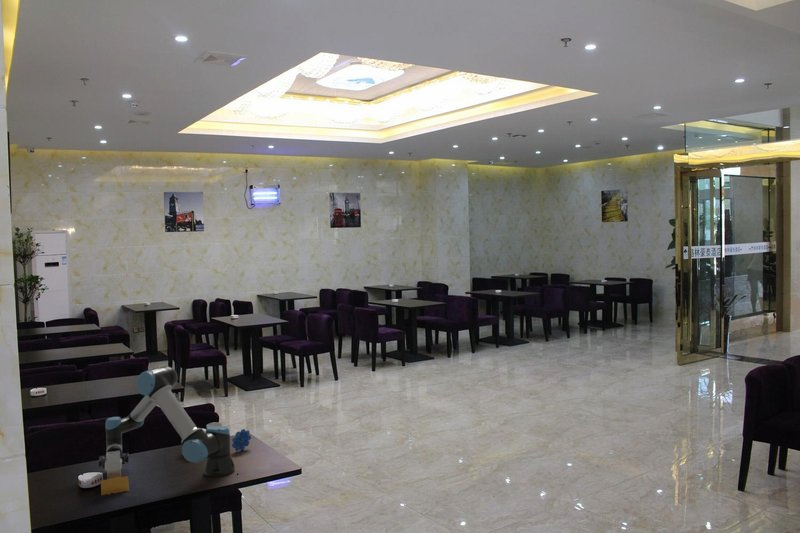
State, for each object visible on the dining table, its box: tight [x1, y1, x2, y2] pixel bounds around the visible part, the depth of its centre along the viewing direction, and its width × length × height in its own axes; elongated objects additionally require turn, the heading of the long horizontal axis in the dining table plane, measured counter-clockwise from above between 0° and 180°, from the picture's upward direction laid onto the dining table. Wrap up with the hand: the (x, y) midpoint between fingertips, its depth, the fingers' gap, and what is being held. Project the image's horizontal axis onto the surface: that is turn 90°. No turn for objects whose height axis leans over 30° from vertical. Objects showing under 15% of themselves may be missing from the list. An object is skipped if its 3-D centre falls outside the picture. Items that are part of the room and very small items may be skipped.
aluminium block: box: [105, 451, 122, 479], centre depth 309 cm, size 6×6×12 cm
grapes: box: [231, 428, 252, 452], centre depth 360 cm, size 12×7×12 cm, turn 129°
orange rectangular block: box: [100, 475, 130, 496], centre depth 305 cm, size 9×12×7 cm
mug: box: [206, 422, 223, 428], centre depth 376 cm, size 12×9×11 cm
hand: (113, 466), depth 304 cm, fingers closed on aluminium block, 6 cm apart
